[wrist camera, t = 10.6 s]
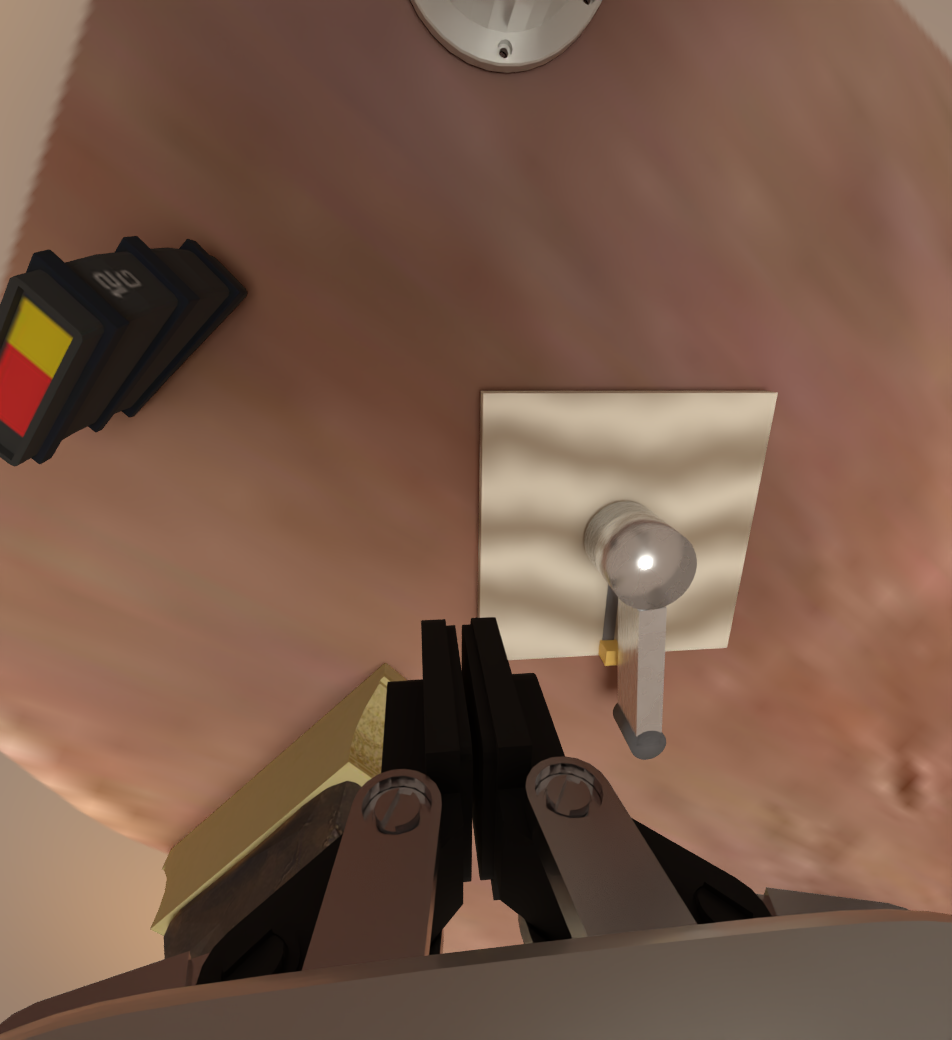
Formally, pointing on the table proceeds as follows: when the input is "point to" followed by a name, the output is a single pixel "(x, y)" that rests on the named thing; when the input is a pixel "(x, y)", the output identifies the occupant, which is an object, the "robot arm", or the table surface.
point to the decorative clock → (273, 823)
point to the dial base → (599, 483)
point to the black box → (100, 337)
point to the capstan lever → (640, 609)
